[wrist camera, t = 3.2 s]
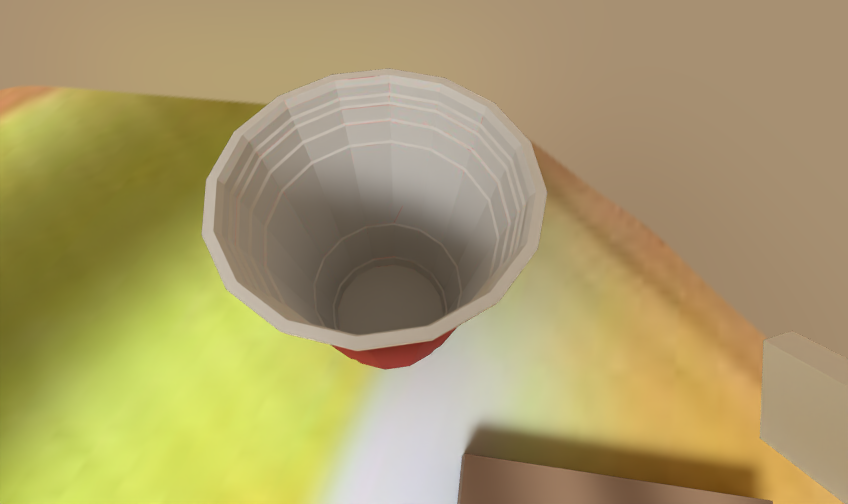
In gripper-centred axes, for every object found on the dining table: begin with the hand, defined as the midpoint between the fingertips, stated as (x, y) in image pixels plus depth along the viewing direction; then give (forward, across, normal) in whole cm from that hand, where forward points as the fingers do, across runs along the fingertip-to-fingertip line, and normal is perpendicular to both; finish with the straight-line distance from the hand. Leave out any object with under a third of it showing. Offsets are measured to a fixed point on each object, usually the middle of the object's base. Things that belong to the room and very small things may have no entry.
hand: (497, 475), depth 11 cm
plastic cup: (+16, 0, -3) cm, 16 cm away
